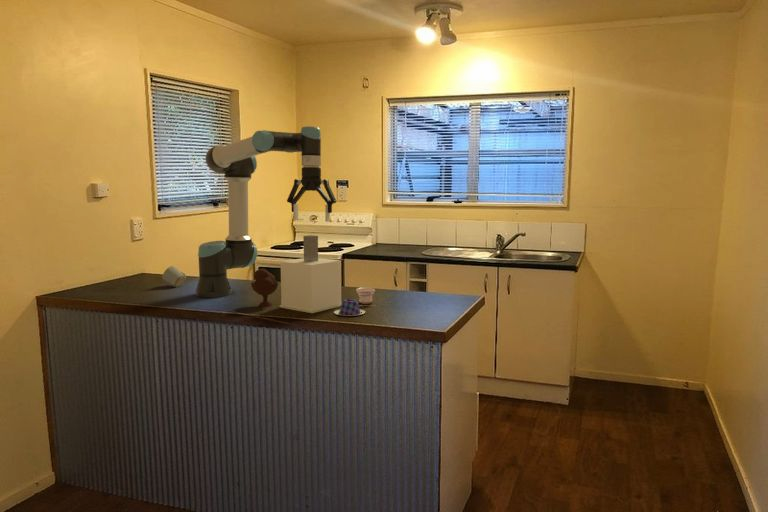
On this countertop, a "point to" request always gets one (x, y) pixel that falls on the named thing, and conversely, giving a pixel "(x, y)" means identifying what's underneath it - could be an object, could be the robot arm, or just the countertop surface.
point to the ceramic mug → (174, 276)
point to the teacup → (365, 295)
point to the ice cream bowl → (264, 285)
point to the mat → (309, 311)
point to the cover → (310, 279)
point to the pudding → (349, 308)
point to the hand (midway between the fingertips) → (311, 221)
